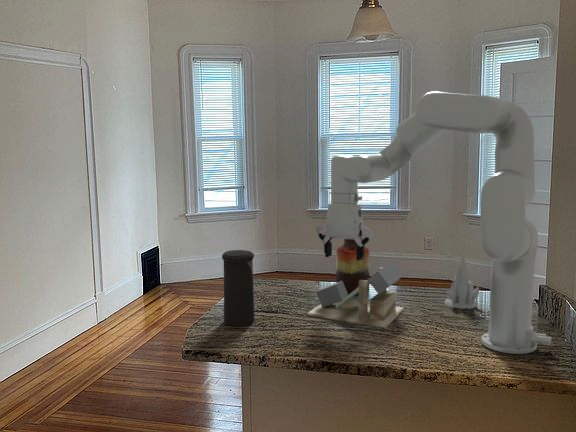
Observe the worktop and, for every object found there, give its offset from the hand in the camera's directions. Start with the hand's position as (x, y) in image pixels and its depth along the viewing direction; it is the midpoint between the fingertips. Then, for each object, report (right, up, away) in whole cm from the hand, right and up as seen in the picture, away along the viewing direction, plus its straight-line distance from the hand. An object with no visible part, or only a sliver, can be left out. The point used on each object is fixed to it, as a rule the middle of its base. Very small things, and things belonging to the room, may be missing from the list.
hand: (343, 257), depth 160 cm
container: (-30, -17, -7) cm, 35 cm away
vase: (+5, -13, +22) cm, 26 cm away
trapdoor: (+9, -11, -3) cm, 14 cm away
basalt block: (0, -10, +2) cm, 10 cm away
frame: (+4, -16, 0) cm, 16 cm away
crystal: (+36, -15, +9) cm, 40 cm away
